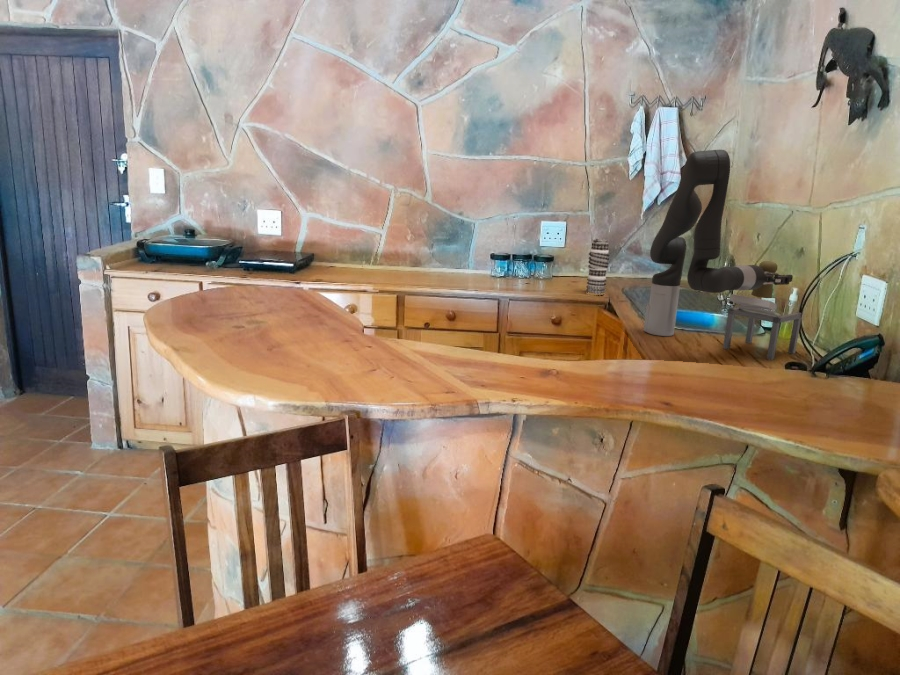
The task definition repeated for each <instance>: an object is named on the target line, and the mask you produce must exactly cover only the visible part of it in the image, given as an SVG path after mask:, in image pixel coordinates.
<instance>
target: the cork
mask: <svg viewBox="0 0 900 675" xmlns="http://www.w3.org/2000/svg"><path fill="white" fill-rule="evenodd" d="M758 266H759V267H761V268H762V270H763V271H767V272H773V273H777V270H778V264H777V263H776V262H774V261H771V260H770V261H768V260H767V261H766V260H765V261H761V262H760V263H759V264H758ZM772 278H774V275H772ZM771 282H772V281H771ZM773 287H774V284H762V286H761V287H759V288H758V289H755V290H751V296H754V297H755V298H759V299H772V298H773V290H774V289H773Z"/></svg>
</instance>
